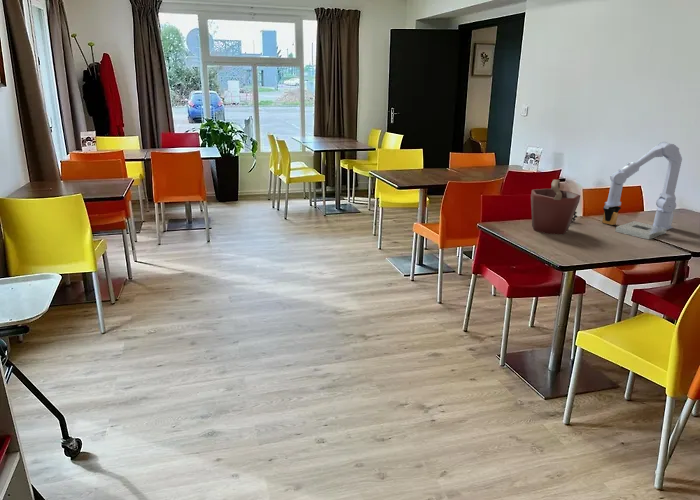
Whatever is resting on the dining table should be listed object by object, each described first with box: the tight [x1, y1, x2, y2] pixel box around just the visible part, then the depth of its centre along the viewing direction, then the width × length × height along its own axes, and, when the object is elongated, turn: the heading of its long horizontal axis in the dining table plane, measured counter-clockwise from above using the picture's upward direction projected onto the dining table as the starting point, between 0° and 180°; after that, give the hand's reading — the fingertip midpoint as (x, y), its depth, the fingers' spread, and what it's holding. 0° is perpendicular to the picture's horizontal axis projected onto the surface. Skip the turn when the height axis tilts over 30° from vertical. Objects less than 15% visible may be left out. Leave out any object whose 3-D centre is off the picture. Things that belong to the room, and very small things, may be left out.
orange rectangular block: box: [601, 211, 619, 226], centre depth 267 cm, size 4×6×6 cm
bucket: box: [530, 179, 581, 235], centre depth 250 cm, size 24×22×25 cm
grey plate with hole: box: [615, 220, 668, 240], centre depth 254 cm, size 20×16×2 cm
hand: (609, 220), depth 267 cm, fingers closed on orange rectangular block, 4 cm apart
